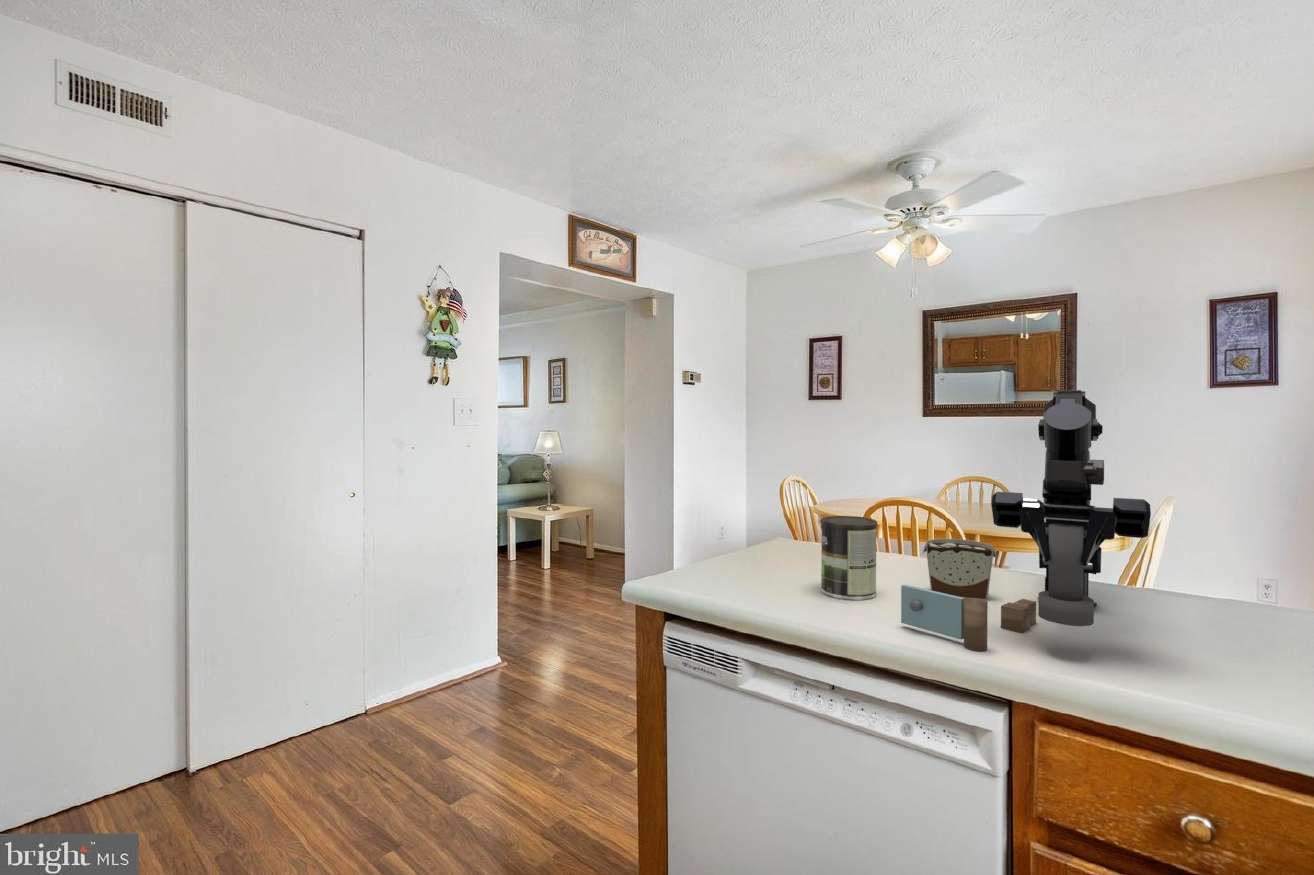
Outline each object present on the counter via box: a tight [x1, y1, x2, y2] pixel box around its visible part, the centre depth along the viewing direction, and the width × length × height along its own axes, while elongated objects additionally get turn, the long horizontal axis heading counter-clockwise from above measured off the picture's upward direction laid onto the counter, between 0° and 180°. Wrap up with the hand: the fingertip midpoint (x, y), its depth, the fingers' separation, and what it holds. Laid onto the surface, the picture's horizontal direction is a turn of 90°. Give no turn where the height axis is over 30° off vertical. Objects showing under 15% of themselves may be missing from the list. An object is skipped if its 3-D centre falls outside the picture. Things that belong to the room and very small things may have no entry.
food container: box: [922, 538, 998, 602], centre depth 114 cm, size 12×6×10 cm, turn 71°
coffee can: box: [820, 515, 878, 601], centre depth 115 cm, size 10×10×14 cm
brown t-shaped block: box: [963, 598, 1037, 652], centre depth 92 cm, size 20×3×7 cm, turn 127°
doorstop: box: [1037, 524, 1095, 627], centre depth 84 cm, size 6×6×13 cm
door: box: [900, 584, 965, 641], centre depth 91 cm, size 10×2×6 cm, turn 37°
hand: (1065, 562), depth 82 cm, fingers closed on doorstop, 4 cm apart
